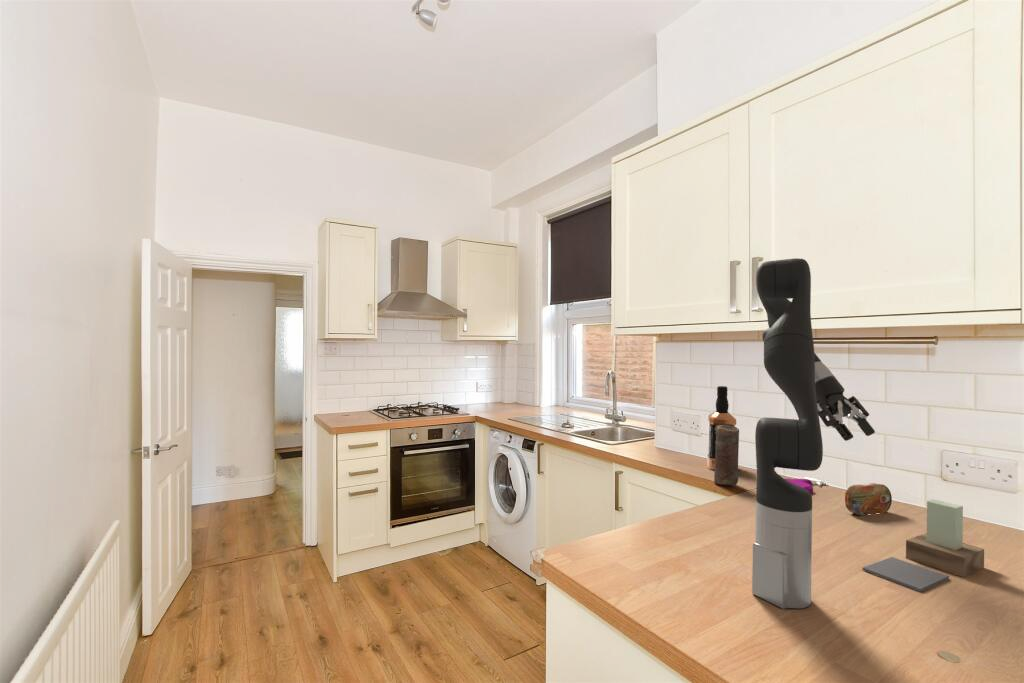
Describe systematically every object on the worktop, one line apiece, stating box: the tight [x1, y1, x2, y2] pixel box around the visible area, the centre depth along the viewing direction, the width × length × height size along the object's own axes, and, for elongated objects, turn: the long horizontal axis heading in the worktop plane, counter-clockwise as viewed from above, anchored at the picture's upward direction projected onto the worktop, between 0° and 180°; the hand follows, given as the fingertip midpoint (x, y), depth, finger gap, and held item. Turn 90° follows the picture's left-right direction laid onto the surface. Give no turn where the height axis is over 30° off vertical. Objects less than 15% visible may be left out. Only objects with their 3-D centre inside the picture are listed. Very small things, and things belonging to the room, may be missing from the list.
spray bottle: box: [784, 476, 826, 494], centre depth 162 cm, size 3×11×24 cm
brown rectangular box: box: [905, 532, 985, 578], centre depth 106 cm, size 10×10×4 cm
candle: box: [713, 425, 740, 487], centre depth 164 cm, size 8×7×20 cm
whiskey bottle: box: [706, 385, 737, 471], centre depth 188 cm, size 10×10×32 cm
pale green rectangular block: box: [926, 498, 964, 550], centre depth 106 cm, size 4×5×9 cm
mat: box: [862, 556, 950, 593], centre depth 100 cm, size 12×10×1 cm
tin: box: [844, 482, 893, 517], centre depth 138 cm, size 15×3×8 cm, turn 105°
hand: (860, 436), depth 120 cm, fingers open, 8 cm apart
